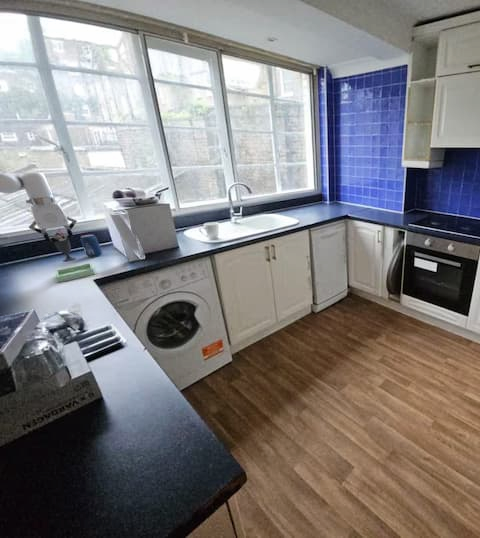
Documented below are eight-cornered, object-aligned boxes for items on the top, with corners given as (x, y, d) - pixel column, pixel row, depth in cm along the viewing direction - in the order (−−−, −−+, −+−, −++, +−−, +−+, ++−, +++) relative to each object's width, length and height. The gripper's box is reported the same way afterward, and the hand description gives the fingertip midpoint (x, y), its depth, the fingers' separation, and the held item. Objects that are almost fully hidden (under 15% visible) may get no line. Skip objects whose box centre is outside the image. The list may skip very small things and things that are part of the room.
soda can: (100, 252, 174) (92, 233, 169) (104, 254, 170) (96, 235, 166) (85, 256, 169) (77, 236, 164) (89, 258, 165) (80, 238, 160)
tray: (57, 282, 136) (55, 277, 135) (58, 275, 144) (55, 270, 143) (94, 274, 144) (92, 269, 143) (92, 267, 152) (90, 262, 151)
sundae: (78, 256, 145) (65, 226, 139) (79, 259, 141) (66, 229, 135) (60, 260, 141) (46, 229, 135) (60, 263, 136) (46, 232, 130)
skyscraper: (145, 260, 160) (127, 208, 149) (127, 263, 156) (107, 211, 145) (145, 255, 167) (128, 206, 156) (127, 259, 163) (109, 208, 152)
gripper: (14, 205, 122) (34, 246, 129) (70, 199, 133) (85, 237, 140) (15, 203, 127) (35, 242, 134) (69, 197, 138) (84, 234, 145)
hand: (60, 239), depth 137 cm, fingers closed on sundae, 6 cm apart
